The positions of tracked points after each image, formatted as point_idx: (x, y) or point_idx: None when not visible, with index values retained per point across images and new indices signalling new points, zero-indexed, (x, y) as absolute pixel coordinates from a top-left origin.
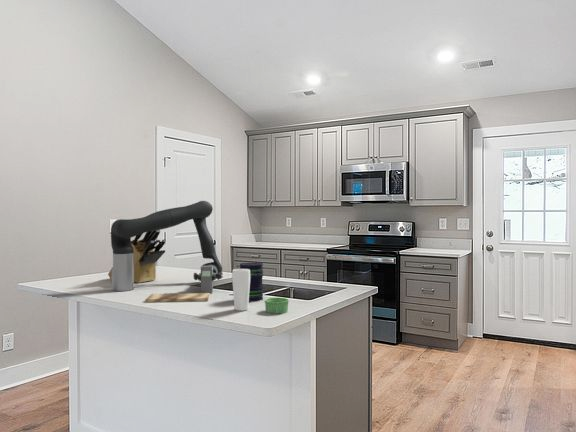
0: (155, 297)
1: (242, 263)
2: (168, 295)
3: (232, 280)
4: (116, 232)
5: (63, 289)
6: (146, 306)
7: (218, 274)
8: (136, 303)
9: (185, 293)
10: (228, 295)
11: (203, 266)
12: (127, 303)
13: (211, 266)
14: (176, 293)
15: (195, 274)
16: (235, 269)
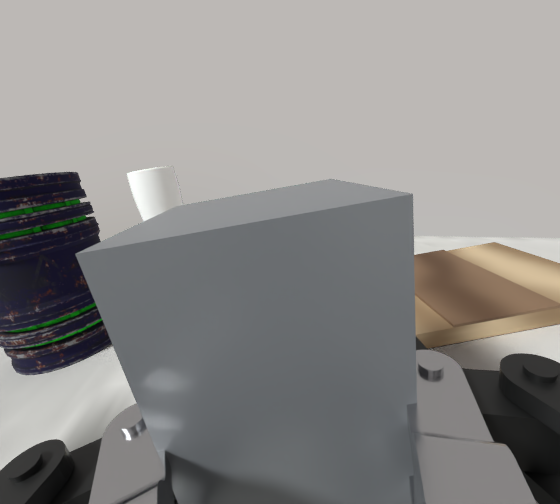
0: (492, 259)
1: (26, 177)
2: (464, 279)
3: (180, 191)
4: None
5: None
6: (429, 238)
7: (46, 446)
8: (508, 243)
9: (421, 331)
10: (136, 403)
11: (306, 189)
12: (543, 238)
13: (171, 211)
14: (472, 313)
15: (543, 363)
16: (160, 168)
